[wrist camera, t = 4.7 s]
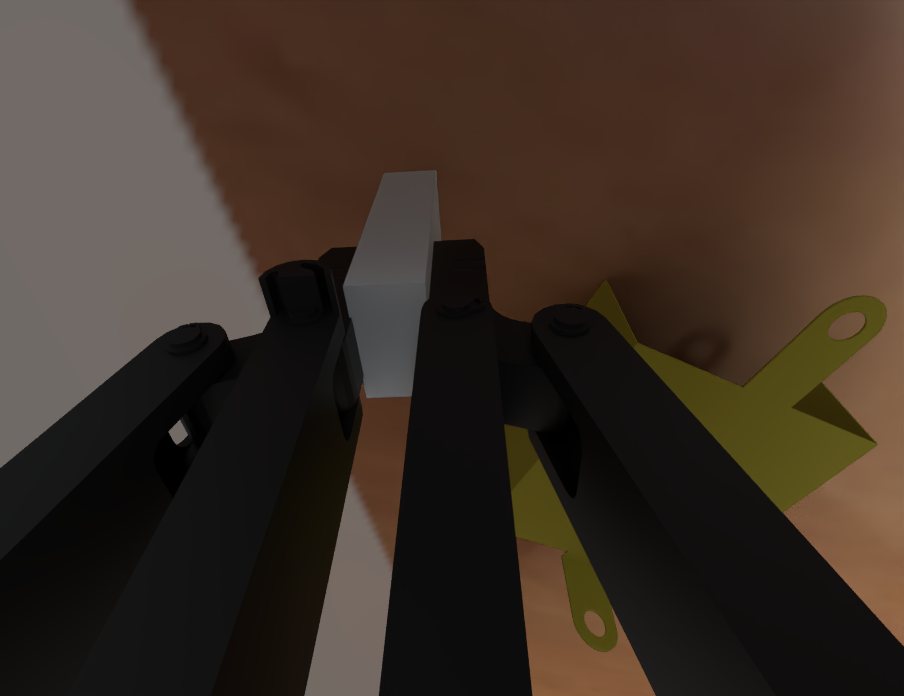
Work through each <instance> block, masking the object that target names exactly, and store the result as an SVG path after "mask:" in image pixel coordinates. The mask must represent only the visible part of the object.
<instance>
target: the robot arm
mask: <svg viewBox="0 0 904 696" xmlns="http://www.w3.org/2000/svg"><path fill="white" fill-rule="evenodd" d="M258 279H259V282H260V285H261V288H262V291H263V295H264V298H265V301H266V304H267V307H268V310H269V313H270V316H271V317H270V319H269V321H268V323H267V325H266V327H265V329H264V331H263V332H262V333H259V334H256V335H252V336H248V337H244V338H239V339H235V340H230V341H229V340H228V337H227V334H226V332H225V330H224V329H223V328H222V327H221V326H220V325H217V324H213V323H190V324H189V325H188V324H186V325H182V326H179V327H178V328H176V329H174V330H171V331H169V332H167V333H165V334H164V335H163V336H161V337H159V338H158V339H156V340H155V341H154V342H153V343H151V344H150V345H149V346H148V347H146V348H145V349H144V350H143V351H142V352H140V353H139V354H138V355H137V356H136V357H134V358H133V359H132V360H131V361H130V362H128V363H127V364H126V365H125V366H123V367H122V368H121V369H120V370H119V371H118V372H116V373H115V374H114V375H113V376H111V377H110V378H109V379H108V380H107V381H105V382H104V383H103V384H102V385H100V386H99V387H98V388H97V389H96V390H94V391H93V392H92V393H91V394H90V395H88V396H87V397H86V398H85V399H84V400H82V401H81V402H80V403H79V404H77V405H76V406H75V407H74V408H73V409H71V410H70V411H69V412H68V413H67V414H65V415H64V416H63V417H62V418H61V419H59V420H58V421H57V422H56V423H54V424H53V425H52V426H51V427H50V428H49V429H47V430H46V431H45V432H44V433H43V434H41V435H40V436H39V437H38V438H36V439H35V440H34V441H33V442H32V443H30V444H29V445H28V446H27V447H25V448H24V449H23V450H22V451H21V452H19V453H18V454H17V455H16V456H15V457H14V458H12V459H11V460H10V461H9V462H7V463H6V464H5V465H4V466H3V467H1V468H0V696H304V695H305V690H306V685H307V681H308V676H309V671H310V665H311V661H312V657H313V652H314V647H315V642H316V637H317V633H318V628H319V623H320V618H321V613H322V608H323V603H324V599H325V594H326V589H327V584H328V580H329V575H330V570H331V565H332V560H333V556H334V551H335V546H336V541H337V536H338V531H339V527H340V522H341V517H342V512H343V508H344V503H345V498H346V492H347V488H348V484H349V479H350V474H351V469H352V464H353V460H354V455H355V450H356V445H357V440H358V436H359V431H360V426H361V421H362V416H363V413H362V405H361V400H360V396H359V393H360V389H361V385H362V380H363V384H364V389H365V393H366V398H384V397H410V396H412V397H411V407H410V416H409V425H408V434H407V443H406V452H405V461H404V471H403V480H402V489H401V498H400V507H399V516H398V525H397V534H396V544H395V553H394V562H393V571H392V580H391V589H390V598H389V609H388V617H387V626H386V636H385V645H384V653H383V662H382V672H381V681H380V691H379V696H532V687H531V678H530V668H529V658H528V649H527V639H526V630H525V620H524V610H523V601H522V591H521V581H520V572H519V562H518V553H517V543H516V533H515V524H514V514H513V504H512V495H511V485H510V475H509V466H508V456H507V447H506V437H505V427H504V424H506V425H510V426H515V427H520V428H524V429H527V431H528V436H529V439H530V441H531V443H532V445H533V447H534V449H535V451H536V453H537V456H538V458H539V460H540V462H541V464H542V466H543V468H544V470H545V472H546V474H547V476H548V478H549V480H550V482H551V484H552V486H553V488H554V490H555V492H556V494H557V496H558V498H559V500H560V502H561V504H562V506H563V508H564V510H565V512H566V514H567V516H568V518H569V520H570V522H571V524H572V526H573V528H574V531H575V533H576V535H577V537H578V539H579V541H580V543H581V545H582V547H583V549H584V551H585V553H586V555H587V557H588V559H589V561H590V563H591V565H592V567H593V569H594V571H595V573H596V575H597V577H598V579H599V581H600V583H601V585H602V587H603V589H604V591H605V593H606V595H607V597H608V599H609V601H610V604H611V606H612V608H613V610H614V612H615V614H616V616H617V618H618V620H619V622H620V624H621V626H622V628H623V630H624V632H625V634H626V636H627V638H628V640H629V642H630V644H631V646H632V648H633V650H634V652H635V654H636V656H637V658H638V660H639V662H640V664H641V666H642V668H643V670H644V672H645V674H646V676H647V679H648V681H649V683H650V685H651V687H652V689H653V691H654V693H655V695H656V696H904V646H903V645H902V644H901V643H900V642H899V641H898V640H897V639H896V638H895V636H894V635H893V634H892V633H891V632H890V631H889V630H888V629H887V628H886V627H885V625H884V624H883V623H882V622H881V621H880V620H879V619H878V618H877V617H876V615H875V614H874V613H873V612H872V611H871V610H870V609H869V608H868V607H867V606H866V604H865V603H864V602H863V601H862V600H861V599H860V598H859V597H858V596H857V594H856V593H855V592H854V591H853V590H852V589H851V588H850V587H849V586H848V585H847V583H846V582H845V581H844V580H843V579H842V578H841V577H840V576H839V575H838V574H837V572H836V571H835V570H834V569H833V568H832V567H831V566H830V565H829V564H828V562H827V561H826V560H825V559H824V558H823V557H822V556H821V555H820V554H819V553H818V551H817V550H816V549H815V548H814V547H813V546H812V545H811V544H810V543H809V541H808V540H807V539H806V538H805V537H804V536H803V535H802V534H801V533H800V532H799V530H798V529H797V528H796V527H795V526H794V525H793V524H792V523H791V522H790V520H789V519H788V518H787V517H786V516H785V515H784V514H783V513H782V512H781V511H780V509H779V508H778V507H777V506H776V505H775V504H774V503H773V502H772V501H771V500H770V498H769V497H768V496H767V495H766V494H765V493H764V492H763V491H762V490H761V488H760V487H759V486H758V485H757V484H756V483H755V482H754V481H753V480H752V479H751V477H750V476H749V475H748V474H747V473H746V472H745V471H744V470H743V469H742V467H741V466H740V465H739V464H738V463H737V462H736V461H735V460H734V459H733V458H732V456H731V455H730V454H729V453H728V452H727V451H726V450H725V449H724V448H723V447H722V445H721V444H720V443H719V442H718V441H717V440H716V439H715V438H714V437H713V435H712V434H711V433H710V432H709V431H708V430H707V429H706V428H705V427H704V426H703V424H702V423H701V422H700V421H699V420H698V419H697V418H696V417H695V416H694V414H693V413H692V412H691V411H690V410H689V409H688V408H687V407H686V406H685V405H684V403H683V402H682V401H681V400H680V399H679V398H678V397H677V396H676V395H675V393H674V392H673V391H672V390H671V389H670V388H669V387H668V386H667V385H666V384H665V382H664V381H663V380H662V379H661V378H660V377H659V376H658V375H657V374H656V373H655V371H654V370H653V369H652V368H651V367H650V366H649V365H648V364H647V363H646V361H645V360H644V359H643V358H642V357H641V356H640V355H639V354H638V353H637V352H636V350H635V349H634V348H633V347H632V346H631V345H630V344H629V343H628V342H627V340H626V339H625V338H624V337H623V336H622V335H621V334H620V333H619V332H618V331H617V329H616V328H615V327H614V326H613V325H612V324H611V323H610V322H609V321H608V319H607V318H606V317H604V316H603V315H602V314H600V313H599V312H598V311H596V310H594V309H591V308H588V307H586V306H582V305H578V304H558V305H553V306H549V307H546V308H543V309H542V310H540V311H539V312H538V313H536V314H535V315H534V318H533V320H532V322H531V323H529V322H522V321H517V320H513V319H509V318H507V317H504V316H502V315H501V314H499V313H497V312H496V311H495V310H494V309H493V308H492V305H491V303H490V301H489V294H488V284H487V274H486V264H485V255H484V248H483V247H482V246H481V245H480V244H479V243H478V242H477V241H476V240H475V239H467V240H448V241H442V240H441V226H440V213H439V200H438V187H437V173H436V170H427V171H410V172H392V173H384V175H383V177H382V180H381V183H380V186H379V188H378V191H377V194H376V197H375V199H374V202H373V205H372V208H371V210H370V213H369V216H368V219H367V221H366V224H365V227H364V230H363V232H362V235H361V238H360V241H359V243H358V246H357V247H342V248H331V249H330V250H329V251H327V252H326V253H325V254H323V255H322V256H321V257H320V258H319V259H318V261H317V260H298V261H291V262H287V263H284V264H280V265H277V266H275V267H273V268H271V269H269V270H267V271H265V272H264V273H263V274H262V275H261V276H260V277H259V278H258ZM179 420H181V422H182V424H183V426H184V427H185V430H186V432H187V434H188V436H187V437H186V438H185V439H184V440H183V441H182V442H180V443H179V444H178V445H176V444H175V443H174V441H173V440H172V438H171V436H170V434H169V432H168V431H169V430H170V429H171V428H172V427H173V426H174V425H175V424H176V423H177V422H178V421H179Z"/></svg>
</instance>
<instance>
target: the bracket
mask: <svg viewBox="0 0 904 696" xmlns="http://www.w3.org/2000/svg"><path fill="white" fill-rule="evenodd" d="M586 307H588V308H591V309H594V310H596V311H598V312H599V313H600V314H602V315H603V316H604V317H606V318H607V319H608V321H609V322H610V323H611V324H612V325H613V326H614V327H615V328H616V329H617V331H618V332H619V333H620V334H621V335H622V336H623V337H624V338H625V339H626V340H627V342H628V343H629V344H630V345H631V346H632V347H633V348H634V349H635V350H636V352H637V353H638V354H639V355H640V356H641V357H642V358H643V359H644V360H645V361H646V363H647V364H648V365H649V366H650V367H651V368H652V369H653V370H654V371H655V373H656V374H657V375H658V376H659V377H660V378H661V379H662V380H663V381H664V382H665V384H666V385H667V386H668V387H669V388H670V389H671V390H672V391H673V392H674V393H675V395H676V396H677V397H678V398H679V399H680V400H681V401H682V402H683V403H684V405H685V406H686V407H687V408H688V409H689V410H690V411H691V412H692V413H693V414H694V416H695V417H696V418H697V419H698V420H699V421H700V422H701V423H702V424H703V426H704V427H705V428H706V429H707V430H708V431H709V432H710V433H711V434H712V435H713V437H714V438H715V439H716V440H717V441H718V442H719V443H720V444H721V445H722V447H723V448H724V449H725V450H726V451H727V452H728V453H729V454H730V455H731V456H732V458H733V459H734V460H735V461H736V462H737V463H738V464H739V465H740V466H741V467H742V469H743V470H744V471H745V472H746V473H747V474H748V475H749V476H750V477H751V479H752V480H753V481H754V482H755V483H756V484H757V485H758V486H759V487H760V488H761V490H762V491H763V492H764V493H765V494H766V495H767V496H768V497H769V498H770V500H771V501H772V502H773V503H774V504H775V505H776V506H777V507H778V508H779V509H780V511H781V512H782V513H783V512H784V511H786V510H787V509H788V508H790V507H791V506H793V505H794V504H796V503H797V502H798V501H800V500H801V499H803V498H804V497H805V496H807V495H808V494H810V493H811V492H812V491H814V490H815V489H817V488H818V487H819V486H821V485H822V484H824V483H825V482H826V481H828V480H829V479H831V478H832V477H833V476H835V475H836V474H838V473H839V472H840V471H842V470H843V469H845V468H846V467H848V466H849V465H850V464H852V463H853V462H855V461H856V460H857V459H859V458H860V457H862V456H863V455H864V454H866V453H867V452H869V451H870V450H871V449H873V448H874V447H876V446H877V445H878V444H877V443H876V442H875V440H874V439H873V438H872V437H871V436H870V435H869V434H868V433H867V432H866V431H865V429H864V428H863V427H862V426H861V425H860V424H859V423H858V422H857V421H856V419H855V418H854V417H853V416H852V415H851V414H850V413H849V412H848V411H847V409H846V408H845V407H844V406H843V405H842V404H841V403H840V402H839V401H838V399H837V398H836V397H835V396H834V395H833V394H832V393H831V392H830V391H829V389H828V388H827V387H826V386H825V385H824V384H823V383H822V381H823V380H824V379H825V378H827V377H828V376H829V375H830V374H831V373H833V372H834V371H835V370H836V369H837V368H838V367H840V366H841V365H842V364H843V363H844V362H846V361H847V360H848V359H849V358H850V357H851V356H853V355H854V354H855V353H856V352H857V351H859V350H860V349H861V348H862V347H863V346H864V345H866V344H867V343H868V342H869V341H870V340H872V339H873V338H874V337H875V336H876V335H877V334H878V333H879V331H880V330H881V329H882V327H883V325H884V323H885V321H886V317H887V310H886V307H885V305H884V304H883V303H882V302H881V301H880V300H878V299H877V298H875V297H871V296H864V295H863V296H853V297H849V298H846V299H843V300H840V301H838V302H836V303H834V304H832V305H831V306H829V307H828V308H826V309H825V310H824V311H823V312H821V313H820V314H819V315H818V316H817V317H816V318H815V319H814V320H813V321H812V322H811V323H810V324H809V325H807V326H806V327H805V328H804V329H803V330H802V331H801V332H800V333H799V334H798V335H797V336H796V337H795V338H794V339H793V340H791V341H790V342H789V343H788V344H787V345H786V346H785V347H784V348H783V349H782V350H781V351H780V352H779V353H778V354H777V355H775V356H774V357H773V358H772V359H771V360H770V361H769V362H768V363H767V364H766V365H765V366H764V367H763V368H762V369H761V370H759V371H758V372H757V373H756V374H755V375H754V376H753V377H752V378H751V379H750V380H749V381H748V382H747V383H746V384H745V385H743V386H740V385H737V384H735V383H732V382H730V381H728V380H725V379H723V378H721V377H718V376H716V375H714V374H711V373H709V372H706V371H704V370H702V369H699V368H697V367H695V366H692V365H690V364H688V363H685V362H683V361H681V360H678V359H676V358H673V357H671V356H669V355H666V354H664V353H662V352H659V351H657V350H655V349H652V348H650V347H647V346H645V345H643V344H640V343H638V342H637V340H636V338H635V336H634V334H633V332H632V330H631V328H630V326H629V324H628V322H627V320H626V318H625V316H624V314H623V312H622V310H621V308H620V306H619V303H618V301H617V299H616V297H615V295H614V293H613V291H612V289H611V287H610V285H609V283H608V281H607V280H606V279H605V280H604V281H603V283H602V284H601V286H600V287H599V288H598V290H597V291H596V292H595V294H594V295H593V297H592V298H591V299H590V301H589V302H588V303H587V305H586ZM851 312H859V313H862V314H864V316H865V324H864V326H863V327H862V329H861V330H860V331H859V332H858V333H856V334H855V335H853V336H852V337H849V338H847V339H843V340H834V339H831V338H830V337H829V335H828V330H829V327H830V326H831V324H832V323H833V322H834V321H835V320H836V319H837V318H839V317H841V316H842V315H845V314H847V313H851ZM504 427H505V437H506V447H507V456H508V466H509V475H510V485H511V495H512V504H513V514H514V524H515V533H516V537H519V538H522V539H526V540H529V541H533V542H536V543H540V544H543V545H547V546H550V547H554V548H557V549H561V550H564V551H566V552H565V553H564V554H563V555H562V557H561V558H562V563H563V569H564V574H565V580H566V585H567V591H568V596H569V602H570V607H571V613H572V618H573V622H574V625H575V628H576V630H577V632H578V633H579V635H580V636H581V638H582V639H583V640H584V641H585V642H586V643H587V644H588V645H589V646H590V647H592V648H593V649H595V650H597V651H601V652H607V651H610V650H612V649H613V648H614V647H615V645H616V643H617V628H616V624H615V620H614V616H613V612H612V608H611V604H610V601H609V599H608V597H607V595H606V593H605V591H604V589H603V587H602V585H601V583H600V581H599V579H598V577H597V575H596V573H595V571H594V569H593V567H592V565H591V563H590V561H589V559H588V557H587V555H586V553H585V551H584V549H583V547H582V545H581V543H580V541H579V539H578V537H577V535H576V533H575V531H574V528H573V526H572V524H571V522H570V520H569V518H568V516H567V514H566V512H565V510H564V508H563V506H562V504H561V502H560V500H559V498H558V496H557V494H556V492H555V490H554V488H553V486H552V484H551V482H550V480H549V478H548V476H547V474H546V472H545V470H544V468H543V466H542V464H541V462H540V460H539V458H538V456H537V453H536V451H535V449H534V447H533V445H532V443H531V441H530V439H529V436H528V431H527V429H524V428H520V427H515V426H510V425H506V424H504ZM586 611H594V612H595V613H597V614H598V615H599V616H600V617H601V619H602V620H603V622H604V625H605V634H604V636H602V637H598V636H595V635H594V634H592V633H591V632H590V631H589V629H588V628H587V626H586V624H585V621H584V614H585V612H586Z"/></svg>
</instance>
